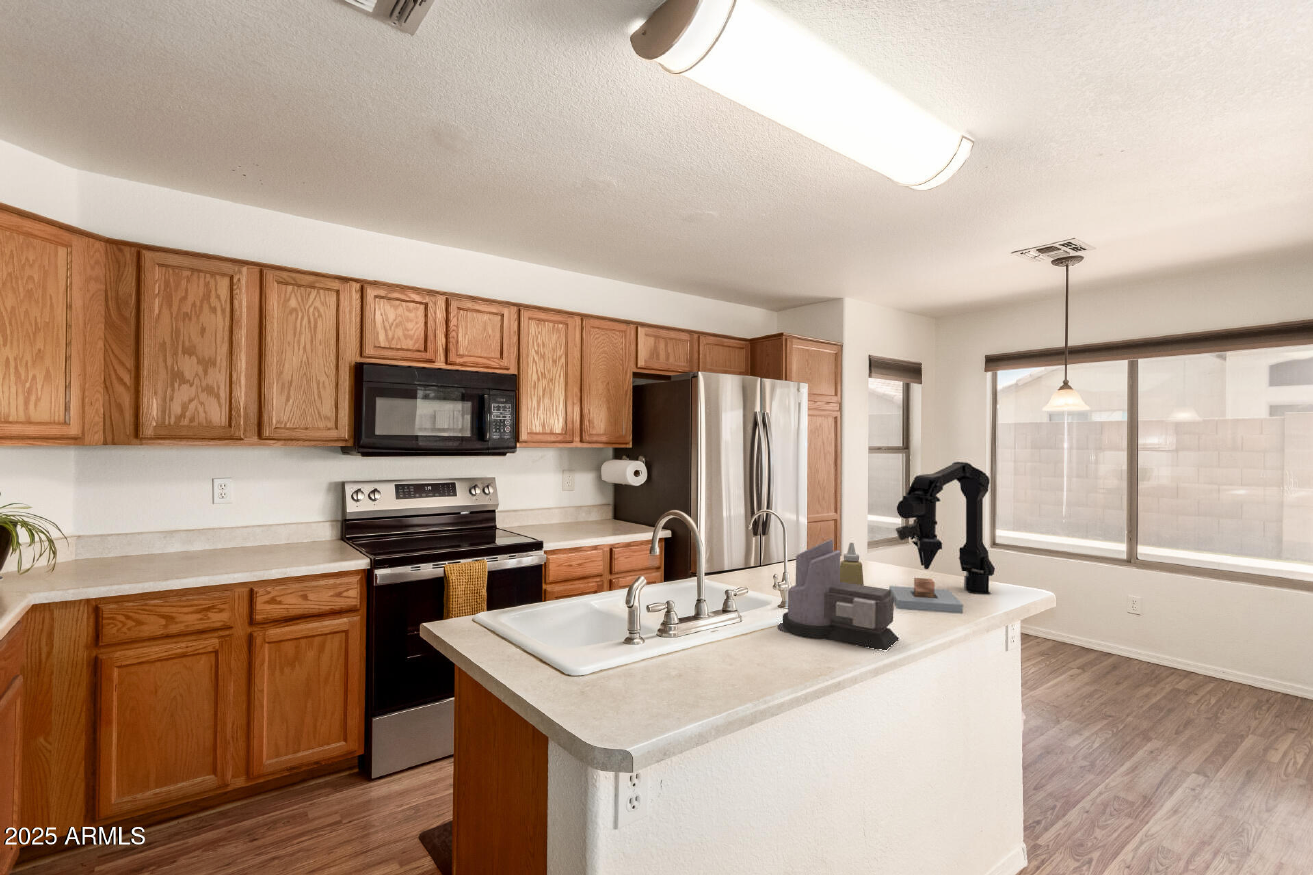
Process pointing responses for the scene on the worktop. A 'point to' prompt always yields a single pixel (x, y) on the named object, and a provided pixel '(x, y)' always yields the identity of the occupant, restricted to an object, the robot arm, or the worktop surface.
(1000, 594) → the worktop surface
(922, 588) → the brown block
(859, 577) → the squeeze bottle
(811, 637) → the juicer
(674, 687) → the worktop surface
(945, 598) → the socket board
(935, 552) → the robot arm
